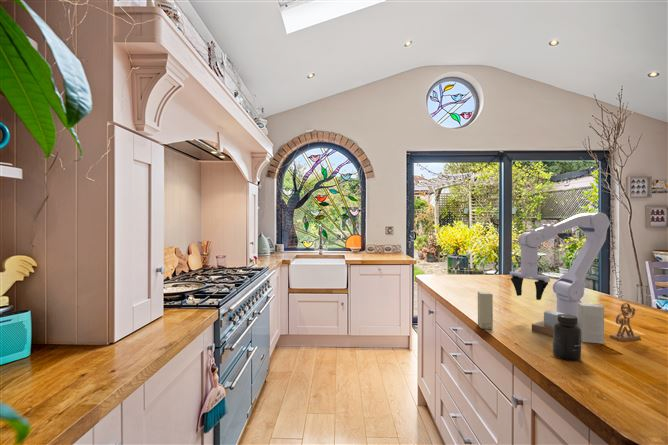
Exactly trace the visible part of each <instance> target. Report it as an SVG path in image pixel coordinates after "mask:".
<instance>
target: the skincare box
mask: <svg viewBox="0 0 668 445" xmlns="http://www.w3.org/2000/svg"><path fill="white" fill-rule="evenodd" d="M577 326H578V327H579V328H580V329H581V331H582V340H581V343H591V344H601V345H604V344H605V307H604V306H602V305H601V304H597V303H584V302H582V303H578V324H577Z"/></svg>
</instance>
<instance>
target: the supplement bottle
mask: <svg viewBox="0 0 668 445" xmlns="http://www.w3.org/2000/svg"><path fill="white" fill-rule="evenodd" d="M557 321H558V323H556V324H555V325H554V327H553V337H552V354H553V355H554V357H557V358H559V359H560V360H564V361H570V362H579V361H581V359H582V341H581V340H582V331H581V329H580V328H579V327H578V318H577V317H576V316H573V315H568V314H558V319H557Z"/></svg>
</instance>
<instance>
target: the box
mask: <svg viewBox="0 0 668 445" xmlns="http://www.w3.org/2000/svg"><path fill="white" fill-rule="evenodd" d="M493 296H494V295H493V293H492V292H490V291H483V290H482V291H480V290H479V291H477V325H478V327H479V328H480V329H484V330H486V329H487V330H493V329H494V322H493V321H494V320H493V319H494V315H493V314H494V313H493V312H494V310H493V308H494V306H493V302H494V300H493V299H494V298H493Z"/></svg>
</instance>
